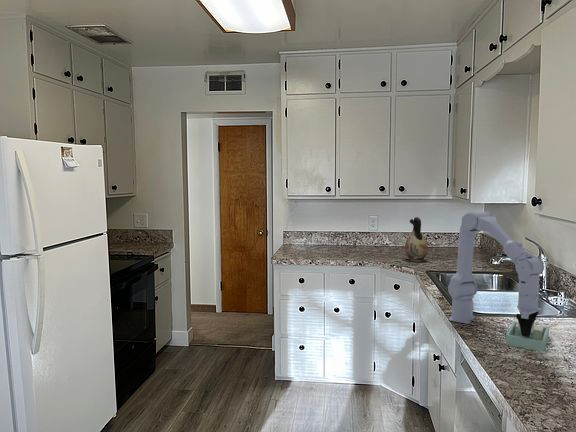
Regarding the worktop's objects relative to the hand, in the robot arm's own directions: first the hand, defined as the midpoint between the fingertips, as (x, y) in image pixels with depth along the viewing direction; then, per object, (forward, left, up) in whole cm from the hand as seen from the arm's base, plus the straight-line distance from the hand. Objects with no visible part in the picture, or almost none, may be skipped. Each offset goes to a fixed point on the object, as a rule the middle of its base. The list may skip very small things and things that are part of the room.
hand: (526, 334), depth 139 cm
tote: (-3, 0, -4) cm, 5 cm away
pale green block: (-7, 0, -3) cm, 8 cm away
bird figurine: (-120, -79, -4) cm, 144 cm away
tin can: (0, 0, -2) cm, 2 cm away
